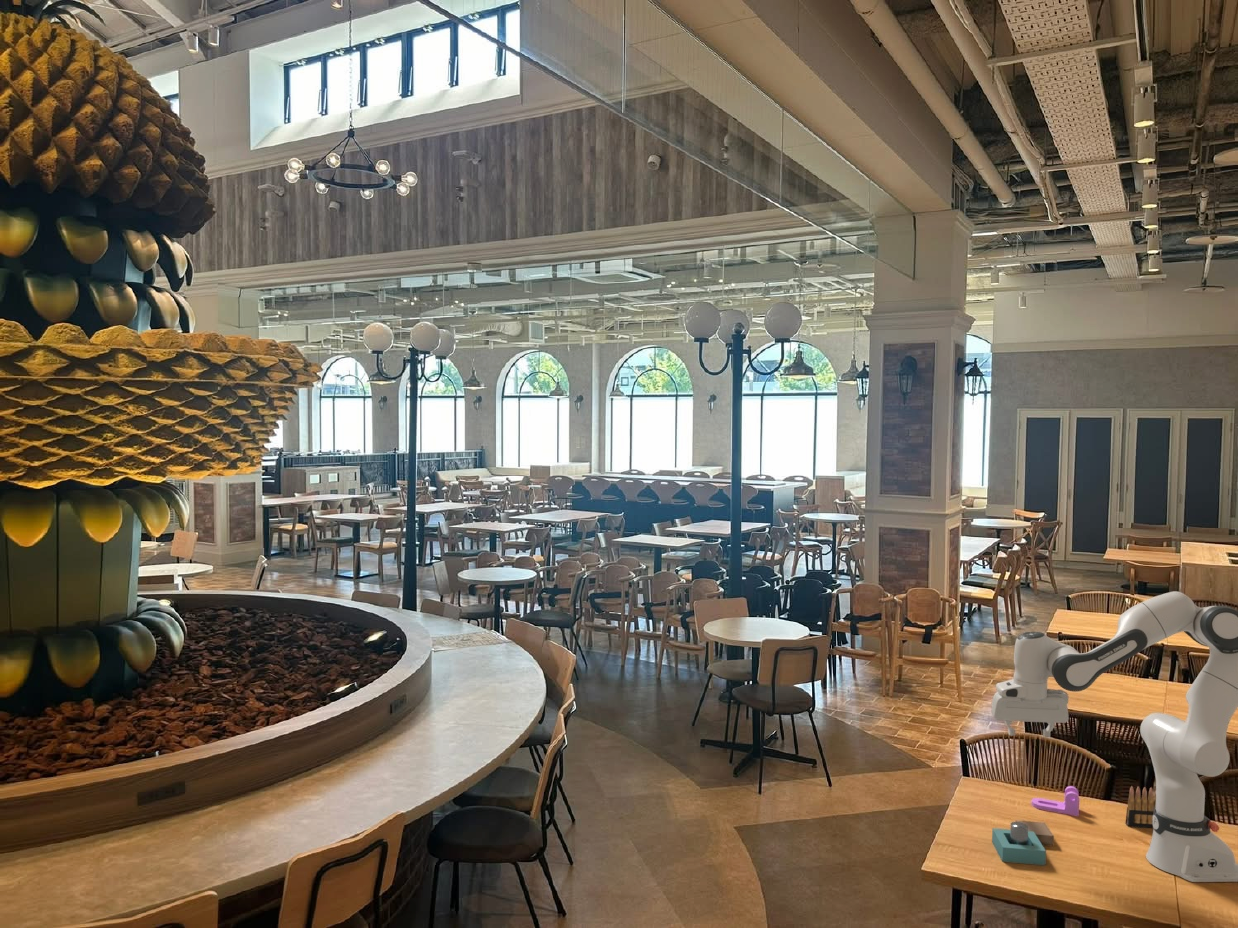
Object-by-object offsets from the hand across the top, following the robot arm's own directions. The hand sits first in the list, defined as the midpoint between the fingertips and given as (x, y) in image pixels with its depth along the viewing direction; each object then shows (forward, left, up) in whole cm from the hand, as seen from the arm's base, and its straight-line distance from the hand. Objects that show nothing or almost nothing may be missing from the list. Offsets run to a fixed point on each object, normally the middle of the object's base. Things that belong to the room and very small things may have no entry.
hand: (1029, 735), depth 253 cm
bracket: (-14, -19, -30) cm, 38 cm away
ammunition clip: (-37, -11, -29) cm, 48 cm away
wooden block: (-2, +2, -29) cm, 29 cm away
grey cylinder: (+5, +12, -29) cm, 32 cm away
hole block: (+5, +12, -29) cm, 32 cm away
